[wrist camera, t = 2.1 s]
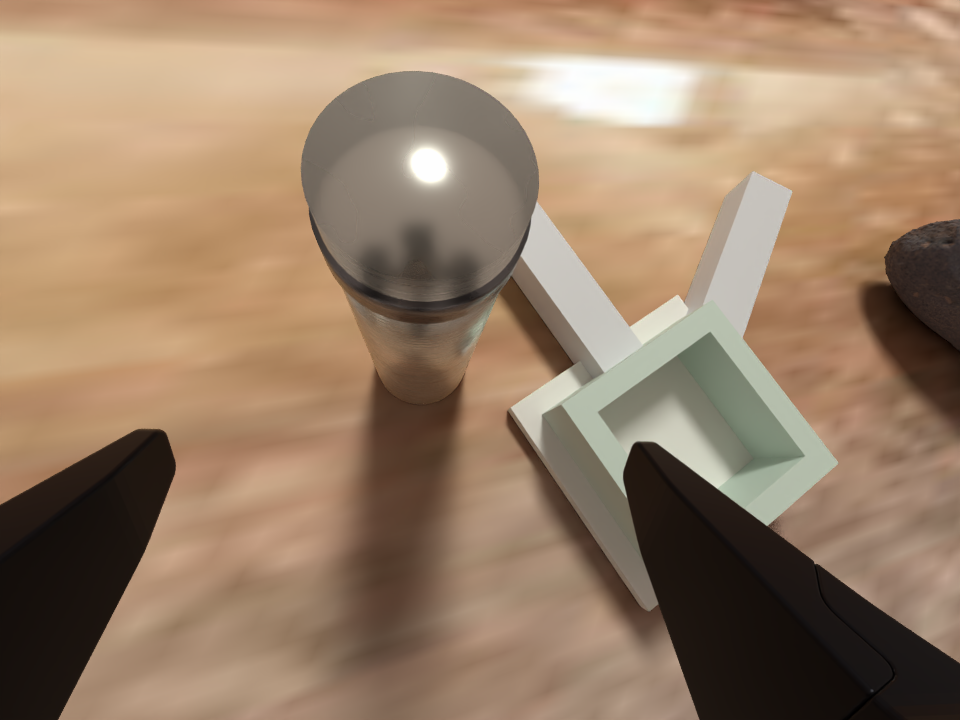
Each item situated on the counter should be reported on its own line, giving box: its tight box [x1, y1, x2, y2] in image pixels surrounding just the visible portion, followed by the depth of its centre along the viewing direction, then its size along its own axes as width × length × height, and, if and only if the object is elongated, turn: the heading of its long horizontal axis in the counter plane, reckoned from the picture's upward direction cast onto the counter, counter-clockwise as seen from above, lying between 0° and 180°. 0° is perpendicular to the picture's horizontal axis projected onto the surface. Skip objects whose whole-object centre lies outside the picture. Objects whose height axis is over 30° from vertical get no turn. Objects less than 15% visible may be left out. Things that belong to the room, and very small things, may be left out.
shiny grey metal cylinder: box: [301, 71, 539, 404], centre depth 15 cm, size 4×4×14 cm
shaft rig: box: [508, 171, 838, 612], centre depth 22 cm, size 19×18×4 cm
